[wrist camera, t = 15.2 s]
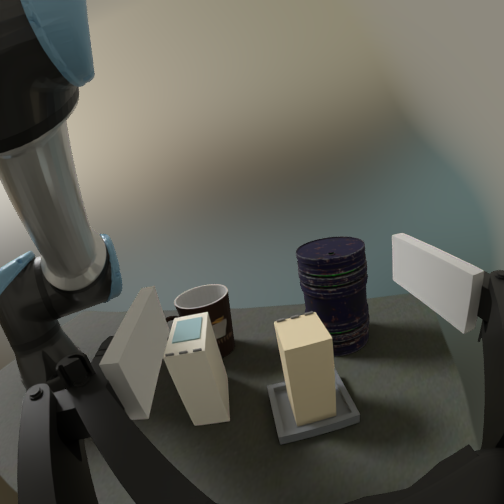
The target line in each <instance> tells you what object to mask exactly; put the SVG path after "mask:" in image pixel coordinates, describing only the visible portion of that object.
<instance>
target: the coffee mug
mask: <svg viewBox="0 0 504 504" xmlns="http://www.w3.org/2000/svg"><path fill="white" fill-rule="evenodd" d="M174 304H175V307H176V309H177V311H178V313H179V315H180V316H169V317H167V318H166V322H168V321H170V320H174V318H178V317H183V316H189V315H194V314H199V313H204V312H208V314H209V318H210V321H211V324H212V328H213V331H214V335H215V338H216V341H217V344H218V348H219V351H220V354H221V357H224V356H226V355H228V354H230V353H231V352H232V351H233V349H234V347H235V343H234V335H233V328H232V320H231V312H230V304H229V296H228V289H227V287H225V286H223V285H218V284H210V285H203V286H199V287H195V288H192V289H190V290H187V291H185V292H183V293H182V294H180V295H179V296H178V297H177V298H176V299H175V301H174ZM168 338H169V337H168ZM167 340H168V339H167Z"/></svg>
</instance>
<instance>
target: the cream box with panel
mask: <svg viewBox="0 0 504 504" xmlns="http://www.w3.org/2000/svg"><path fill="white" fill-rule="evenodd" d="M163 359H164V361H165V363H166V366H167V368H168V370H169V373H170V375H171V377H172V380H173V382H174V384H175V386H176V389H177V391H178V393H179V395H180V397H181V399H182V401H183V404H184V406H185V408H186V410H187V412H188V414H189V416H190V418H191V420H192V422H193V424H194V426H197V425H206V424H213V423H220V422H227V421H230V410H229V392H228V376H227V373H226V370H225V367H224V364H223V361H222V357H221V354H220V351H219V348H218V344H217V341H216V338H215V335H214V331H213V328H212V324H211V321H210V318H209V314H208V312H204V313H199V314H194V315H189V316H183V317H178V318H174V321H173V325H172V328H171V331H170V335H169V338H168V342H167V345H166V349H165V352H164V356H163Z"/></svg>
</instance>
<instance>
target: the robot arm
mask: <svg viewBox="0 0 504 504" xmlns="http://www.w3.org/2000/svg"><path fill="white" fill-rule="evenodd" d="M94 74H95V73H94V68H93V57H92V51H91V42H90V34H89V25H88V18H87V6H86V0H0V180H1V182H2V184H3V186H4V189H5V190H6V192H7V195H8V197H9V199H10V201H11V202H12V205H13V207H14V208H15V210H16V212H17V214H18V216H19V218H20V219H21V221H22V223H23V225H24V227H25V228H26V230H27V232H28V234H29V235H30V237H31V239H32V240H33V242H34V244H35V245H36V247H37V249H38V250H39V252H40V254H41V256H39V257H36V258H35V254H34V253H33V252H32V251H29V252H27V253H25V254H23V255H21V256H19V257H18V258H16V259H14V260H12V261H11V262H9V263H7V264H6V265H4V266H3V267H1V268H0V325H1V327H2V329H3V331H4V333H5V335H6V337H7V339H8V341H9V343H10V345H11V347H12V349H13V351H14V354H15V357H16V361H17V365H18V368H19V372H20V377H21V381H22V383H23V385H24V386H25V388H26V390H27V392H26V393H25V395H24V397H23V403H22V410H21V419H20V429H19V442H18V466H17V482H18V504H98V500H97V497H96V493H95V490H94V486H93V482H92V478H91V474H90V469H89V465H88V460H87V455H86V450H85V445H84V439H85V438H89V437H91V438H92V439H93V441H94V443H95V444H96V446H97V448H98V449H99V451H100V453H101V454H102V456H103V458H104V459H105V461H106V462H107V464H108V465H109V467H110V468H111V470H112V471H113V473H114V474H115V476H116V477H117V479H118V480H119V481H120V483H121V484H122V486H123V487H124V488H125V490H126V491H127V493H128V494H129V495H130V496H131V498H132V499H133V500H134V502H135V503H136V504H217V503H215V502H214V501H212V500H211V499H210V498H209V497H207V496H206V495H205V494H204V493H203V492H202V491H200V490H199V489H198V488H197V487H196V486H195V485H194V484H192V483H191V482H190V481H189V480H188V479H187V478H186V477H185V476H184V475H183V474H182V473H181V472H180V471H178V470H177V469H176V468H175V467H174V466H173V465H172V464H171V463H170V462H169V461H168V460H167V459H166V458H165V457H164V456H163V455H162V454H161V453H160V451H159V450H158V449H157V448H156V447H155V446H154V445H153V444H152V443H151V442H150V441H149V440H148V439H147V437H146V436H145V435H144V434H143V433H142V432H141V431H140V430H139V428H138V427H137V426H136V425H135V424H134V423H133V421H132V420H138V419H149V415H150V410H151V406H152V401H153V397H154V392H155V388H156V384H157V379H158V375H159V371H160V367H161V363H162V359H163V355H164V351H165V347H166V343H167V339H168V335H169V328H168V325H167V322H166V319H165V316H164V313H163V310H162V308H161V305H160V301H159V298H158V295H157V292H156V289H155V286H151V287H146V288H141V289H140V291H139V293H138V295H137V296H136V298H135V300H134V301H133V303H132V305H131V307H130V308H129V310H128V312H127V314H126V316H125V317H124V319H123V321H122V323H121V324H120V326H119V328H118V330H117V332H116V334H115V335H114V336H109V337H108V338H107V339H106V340H105V341H104V342H103V343H102V344H101V346H100V348H99V349H98V351H97V353H96V355H95V357H94V358H93V360H92V362H91V363H90V361H89V359H88V357H87V355H85V354H84V353H82V352H81V350H80V349H79V348H78V347H77V346H76V345H74V343H73V342H72V341H71V340H70V338H69V337H68V336H67V335H66V334H65V332H64V331H63V330H62V328H61V326H60V324H59V322H58V320H57V319H59V318H61V317H64V316H67V315H69V314H72V313H75V312H78V311H81V310H83V309H86V308H89V307H92V306H95V305H97V304H100V303H106V302H108V301H110V299H113V298H115V297H117V296H119V295H120V293H121V291H122V278H121V274H120V271H119V270H120V269H119V263H118V259H117V256H116V252H115V249H114V246H113V243H112V241H111V238H110V237H109V236H108V235H107V234H99V233H98V232H97V231H96V230H94V229H92V228H91V227H90V225H89V222H88V218H87V215H86V211H85V207H84V204H83V200H82V196H81V192H80V188H79V184H78V180H77V175H76V171H75V166H74V161H73V156H72V151H71V146H70V140H69V134H68V128H67V122H66V120H67V119H68V118H69V116H70V115H71V114H72V112H73V111H74V109H75V108H76V106H77V104H78V100H79V89H78V87H81V86H83V85H85V83H87V82H90V81H91V80H92V79H93V78H94ZM392 251H393V280H394V281H395V282H396V283H398V284H399V285H400V286H402V287H403V288H405V289H406V290H407V291H409V292H410V293H411V294H413V295H414V296H415V297H417V298H418V299H419V300H421V301H422V302H423V303H425V304H426V305H427V306H429V307H430V308H431V309H432V310H434V311H435V312H436V313H438V314H439V315H440V316H442V317H443V318H444V319H445V320H447V321H448V322H449V323H451V324H452V325H453V326H454V327H456V328H457V329H458V330H459V331H461V332H462V333H463V334H465V333H467V332H469V331H471V330H473V329H474V328H475V326H476V321H477V316H479V317H480V318H481V319H483V320H482V325H481V330H480V334H479V338H478V342H480V339H481V338H482V341H483V354H484V374H485V409H484V428H483V441H482V447H481V450H477V451H474V450H473V449H472V447H471V446H470V445H467V446H465V447H464V448H462V449H461V450H459V451H458V452H456V453H454V454H453V455H451V456H449V457H448V458H446V459H444V460H442V461H441V462H439V463H438V464H437V465H436V466H435V467H434V468H433V469H431V470H430V471H429V472H428V473H427V474H426V475H424V476H423V477H422V478H421V479H420V480H418V481H417V482H416V483H415V484H413V485H412V486H411V487H409V488H407V489H403V490H399V491H394V492H390V493H384V494H379V495H373V496H367V497H363V498H360V499H357V500H354V501H351V502H348V503H345V504H504V271H503V270H499V271H498V270H497V271H493V272H491V273H490V274H489V273H487V272H485V271H483V270H482V269H479V268H478V267H476V266H474V265H472V264H469V263H467V262H465V261H463V260H461V259H459V258H457V257H455V256H453V255H451V254H449V253H447V252H444V251H442V250H440V249H438V248H436V247H433V246H431V245H429V244H427V243H425V242H422V241H420V240H418V239H415V238H413V237H411V236H409V235H406V234H404V233H400V234H395V235H392ZM64 388H66V390H62V389H64ZM61 390H62V391H61ZM124 410H125V411H126V413H127V414H126V413H125V412H124ZM128 416H129V417H128Z"/></svg>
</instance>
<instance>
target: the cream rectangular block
mask: <svg viewBox="0 0 504 504" xmlns="http://www.w3.org/2000/svg"><path fill="white" fill-rule="evenodd" d="M274 325H275V331H276V336H277V341H278V346H279V352H280V357H281V362H282V367H283V373H284V378H285V383H286V389H287V394H288V398H289V401H290V405H291V408H292V411H293V414H294V418H295V421H296V424H297V427H298V426H302V425H306V424H309V423H313V422H317V421H320V420H324V419H327V418H330V417H333V416H336V391H335V371H334V355H333V341H332V337H331V335H330V334H329V332H328V331H327V329H326V328H325V326H324V325H323V323H322V322H321V320H320V318H319V317H318V315H317V314H316V312H313V311H311V312H307V313H304V315H301V316H299V315H295V316H291V318H289V319H285V318H283V319H278V320H277V321H276V322H274Z"/></svg>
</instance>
